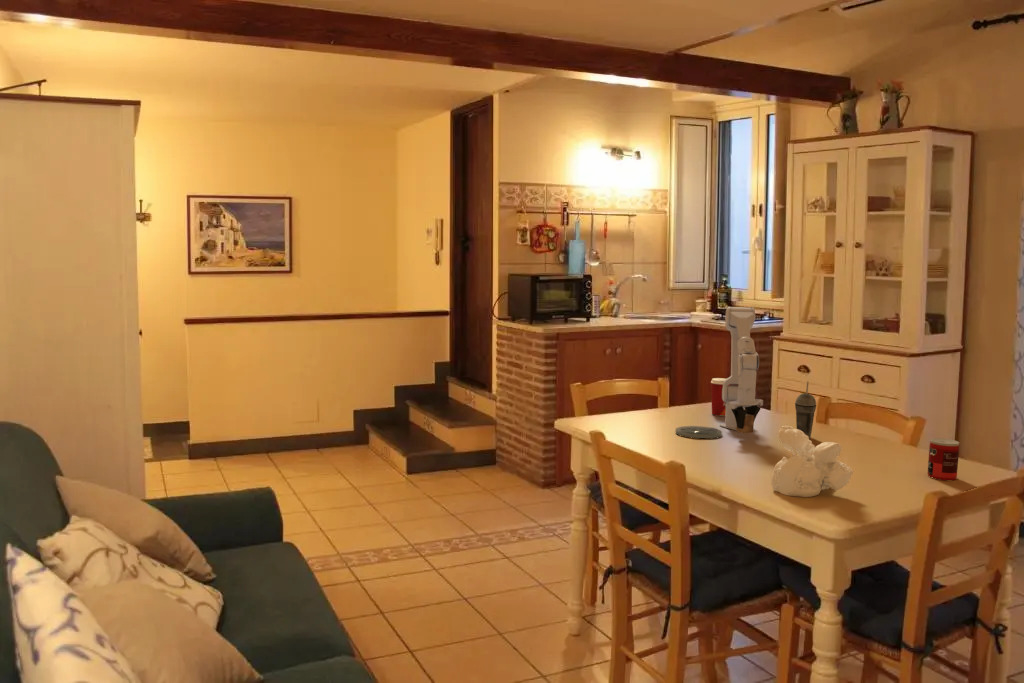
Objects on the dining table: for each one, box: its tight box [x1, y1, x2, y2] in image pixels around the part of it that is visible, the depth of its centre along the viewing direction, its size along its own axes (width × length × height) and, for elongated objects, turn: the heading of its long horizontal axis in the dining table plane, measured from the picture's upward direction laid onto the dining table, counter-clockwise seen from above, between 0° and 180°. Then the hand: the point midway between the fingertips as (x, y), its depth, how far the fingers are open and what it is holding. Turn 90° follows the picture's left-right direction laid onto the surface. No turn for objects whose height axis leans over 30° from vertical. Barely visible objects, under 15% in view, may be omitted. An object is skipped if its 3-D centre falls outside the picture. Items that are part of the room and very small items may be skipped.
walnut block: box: [735, 414, 755, 435], centre depth 313 cm, size 4×4×6 cm
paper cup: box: [710, 377, 731, 416], centre depth 356 cm, size 8×8×14 cm
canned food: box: [927, 437, 960, 481], centre depth 269 cm, size 8×8×11 cm
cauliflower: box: [771, 424, 854, 498], centre depth 251 cm, size 19×20×20 cm
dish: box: [675, 425, 723, 439], centre depth 321 cm, size 16×16×1 cm
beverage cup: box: [794, 381, 817, 439], centre depth 318 cm, size 7×7×20 cm
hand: (744, 427), depth 313 cm, fingers closed on walnut block, 4 cm apart
